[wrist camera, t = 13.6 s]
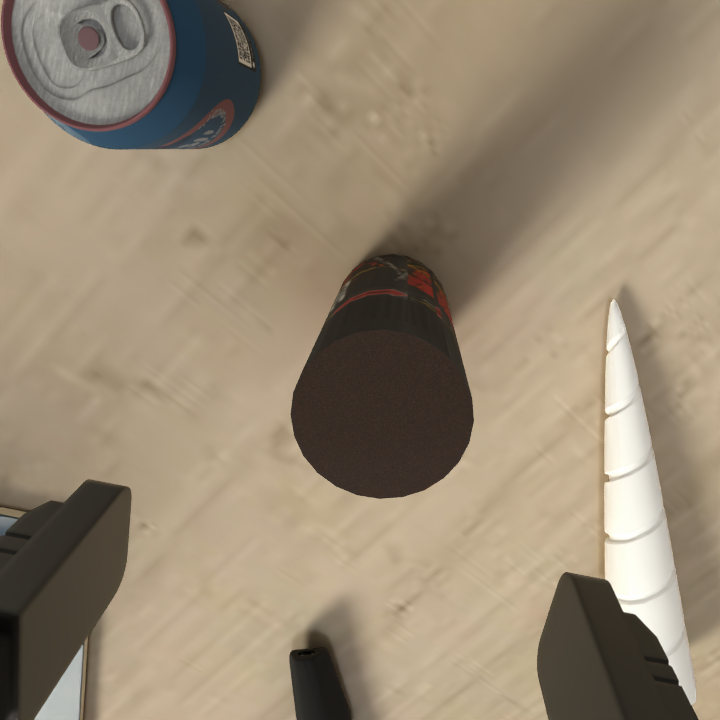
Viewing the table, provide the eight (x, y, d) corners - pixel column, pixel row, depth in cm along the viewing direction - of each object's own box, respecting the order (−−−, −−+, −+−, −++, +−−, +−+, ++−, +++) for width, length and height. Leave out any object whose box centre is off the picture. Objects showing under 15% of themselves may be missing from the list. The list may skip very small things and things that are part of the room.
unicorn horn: (685, 288, 35) (727, 310, 30) (675, 663, 42) (708, 727, 37) (591, 298, 35) (618, 321, 30) (597, 666, 42) (620, 730, 38)
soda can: (156, 164, 34) (32, 173, 23) (107, 21, 33) (-54, -47, 21) (284, 127, 34) (220, 117, 22) (241, -23, 32) (147, -118, 20)
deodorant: (428, 374, 37) (441, 518, 23) (324, 345, 37) (272, 471, 23) (461, 272, 35) (499, 359, 21) (353, 240, 35) (315, 306, 21)
